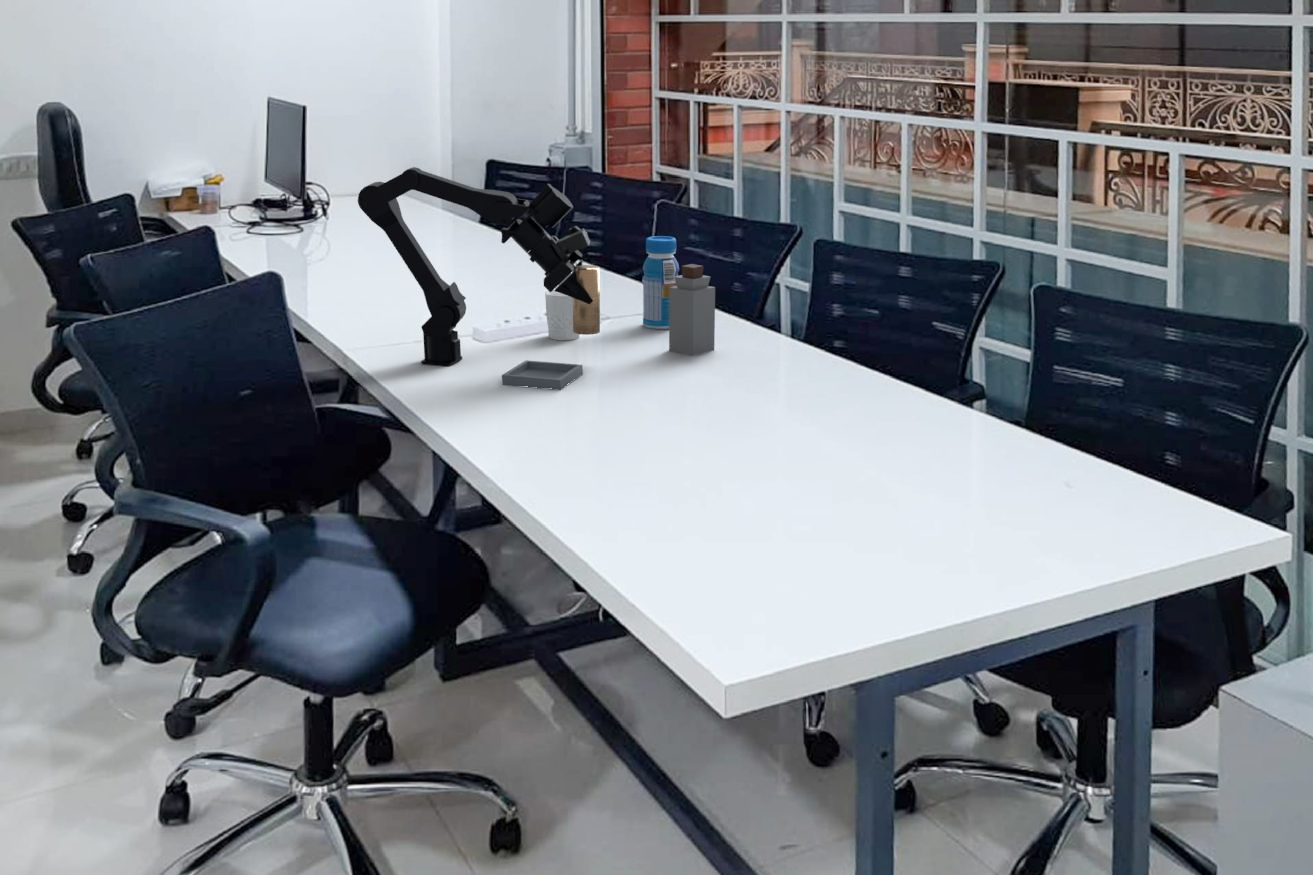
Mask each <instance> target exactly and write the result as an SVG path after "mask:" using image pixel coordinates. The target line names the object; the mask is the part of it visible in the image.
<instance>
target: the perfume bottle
mask: <svg viewBox="0 0 1313 875" xmlns="http://www.w3.org/2000/svg"><path fill="white" fill-rule="evenodd" d="M703 272H704V265H699V264H695V263H690V264H685V265H681V275H678V276H675V277H674V278H675V282H676V285H677V286H674V287H669V329H668V330H669V331H668V335H669V336H668V337H669V338H668V344H669V346H668V347H669V348H668V350H669V351H671V352H674V353H679V354H684V355H688V356H693V357H694V356H697V355H702V354H704V353H709V352H712V351H715V322H716V320H715V319H716V316H715V315H716V287H715V286H709V283H710V280H711V276H709V275H704V274H703Z"/></svg>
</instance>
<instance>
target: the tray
mask: <svg viewBox="0 0 1313 875" xmlns="http://www.w3.org/2000/svg"><path fill="white" fill-rule="evenodd" d="M583 372H584V371H583V364H576V363H562V362H552V361H551V362H550V361H538V360H529V359H528V360H527V359H526V360H524V361H522V362H521V363H520V364H519V363H518V364H517V365H516V366H514V367H513V368H511V369H510V370H508V371H506V372H504V373H503V374H501V384H502V386H509V387H518V386H528V387H527V388H530V387H537V388H536V389H541V388H552V389H551V390H553V389H558V390H557V391H562V390H563V389H564V388H566V387H567V386H568V385H567V384H568V383H570V382H571V381H573V380H574V379H576V378H577V377H579V376H580V375H581V376H583V375H584V374H583ZM582 374H583V375H582ZM581 376H580V377H581ZM580 377H579V378H580ZM577 379H578V378H577ZM577 379H576V380H577ZM574 381H575V380H574ZM574 381H573V382H574ZM570 384H571V383H570ZM565 386H566V387H565ZM562 388H563V389H562ZM561 389H562V390H561Z"/></svg>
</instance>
